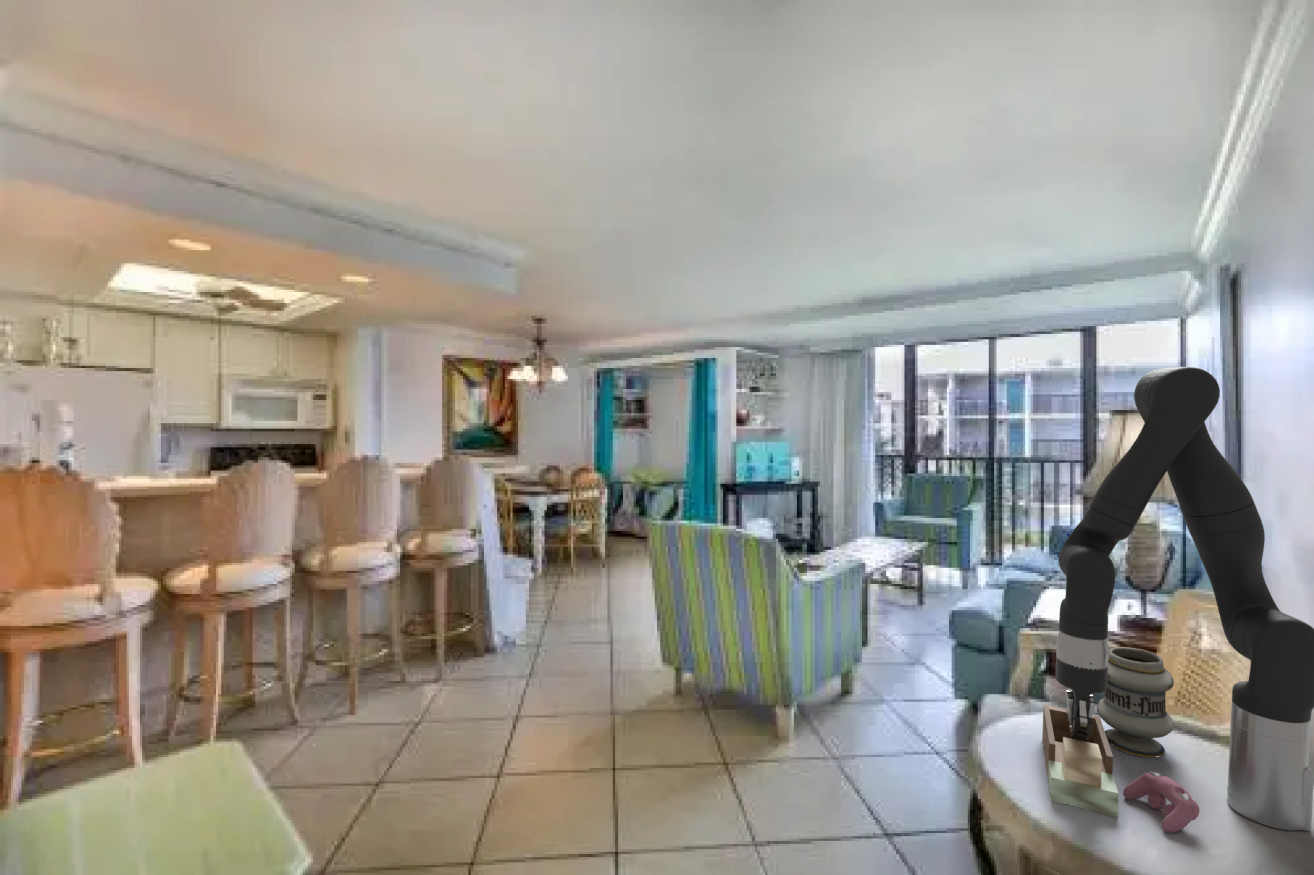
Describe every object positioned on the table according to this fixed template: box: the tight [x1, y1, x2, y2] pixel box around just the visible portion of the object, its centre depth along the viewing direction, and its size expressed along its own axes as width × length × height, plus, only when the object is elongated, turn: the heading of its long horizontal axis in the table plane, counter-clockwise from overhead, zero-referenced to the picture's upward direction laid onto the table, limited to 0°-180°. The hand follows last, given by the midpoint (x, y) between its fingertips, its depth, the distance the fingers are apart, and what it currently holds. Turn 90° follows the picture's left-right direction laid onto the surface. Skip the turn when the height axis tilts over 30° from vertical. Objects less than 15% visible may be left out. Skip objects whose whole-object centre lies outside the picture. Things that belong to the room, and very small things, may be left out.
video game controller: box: [1122, 770, 1200, 833], centre depth 103 cm, size 10×5×7 cm, turn 179°
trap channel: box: [1041, 704, 1119, 818], centre depth 114 cm, size 9×22×7 cm, turn 152°
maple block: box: [1062, 737, 1102, 788], centre depth 107 cm, size 5×5×5 cm
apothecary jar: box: [1096, 646, 1175, 758], centre depth 124 cm, size 12×12×18 cm
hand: (1077, 755), depth 111 cm, fingers closed
